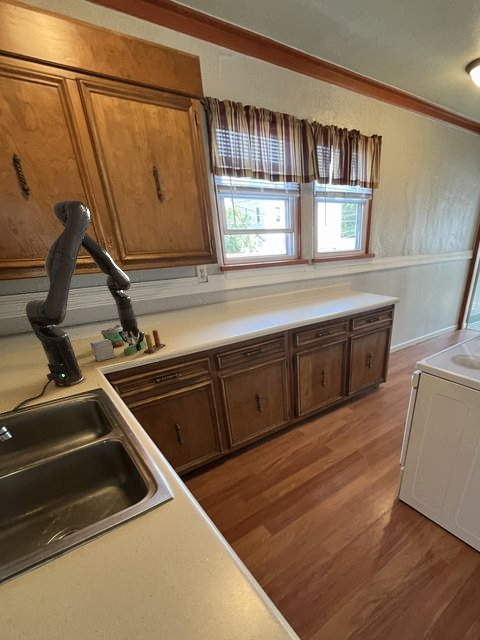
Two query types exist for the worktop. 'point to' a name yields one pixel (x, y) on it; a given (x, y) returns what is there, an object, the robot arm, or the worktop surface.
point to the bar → (133, 348)
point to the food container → (113, 336)
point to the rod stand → (150, 346)
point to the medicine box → (102, 350)
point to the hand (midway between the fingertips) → (136, 350)
